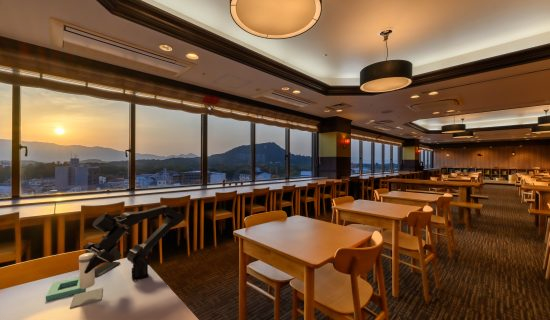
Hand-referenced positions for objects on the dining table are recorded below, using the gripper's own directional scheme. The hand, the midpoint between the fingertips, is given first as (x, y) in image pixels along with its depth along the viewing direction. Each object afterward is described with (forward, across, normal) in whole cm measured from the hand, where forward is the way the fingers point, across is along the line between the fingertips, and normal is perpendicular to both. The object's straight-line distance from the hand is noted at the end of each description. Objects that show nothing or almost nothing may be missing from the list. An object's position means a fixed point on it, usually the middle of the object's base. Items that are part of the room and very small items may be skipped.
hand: (82, 271), depth 98 cm
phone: (-2, +24, -20) cm, 31 cm away
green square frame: (+9, +15, -8) cm, 19 cm away
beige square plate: (+8, 0, -9) cm, 12 cm away
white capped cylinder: (+4, 0, -6) cm, 7 cm away
